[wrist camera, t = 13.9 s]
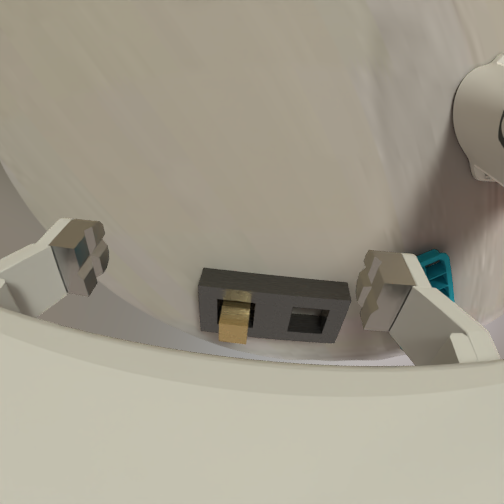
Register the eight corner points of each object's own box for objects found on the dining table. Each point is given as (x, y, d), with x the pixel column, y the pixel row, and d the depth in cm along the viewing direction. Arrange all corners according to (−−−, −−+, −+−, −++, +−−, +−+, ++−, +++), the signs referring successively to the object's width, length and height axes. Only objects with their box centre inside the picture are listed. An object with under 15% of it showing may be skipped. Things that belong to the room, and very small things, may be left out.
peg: (252, 287, 49) (247, 326, 43) (250, 305, 52) (246, 344, 45) (226, 285, 49) (218, 323, 43) (226, 302, 52) (218, 340, 45)
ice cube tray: (398, 339, 55) (401, 351, 53) (373, 267, 46) (378, 280, 43) (451, 318, 51) (456, 329, 49) (440, 239, 42) (448, 251, 39)
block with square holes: (347, 282, 47) (351, 300, 44) (331, 325, 53) (334, 343, 50) (203, 267, 48) (198, 285, 44) (205, 313, 54) (200, 330, 50)
